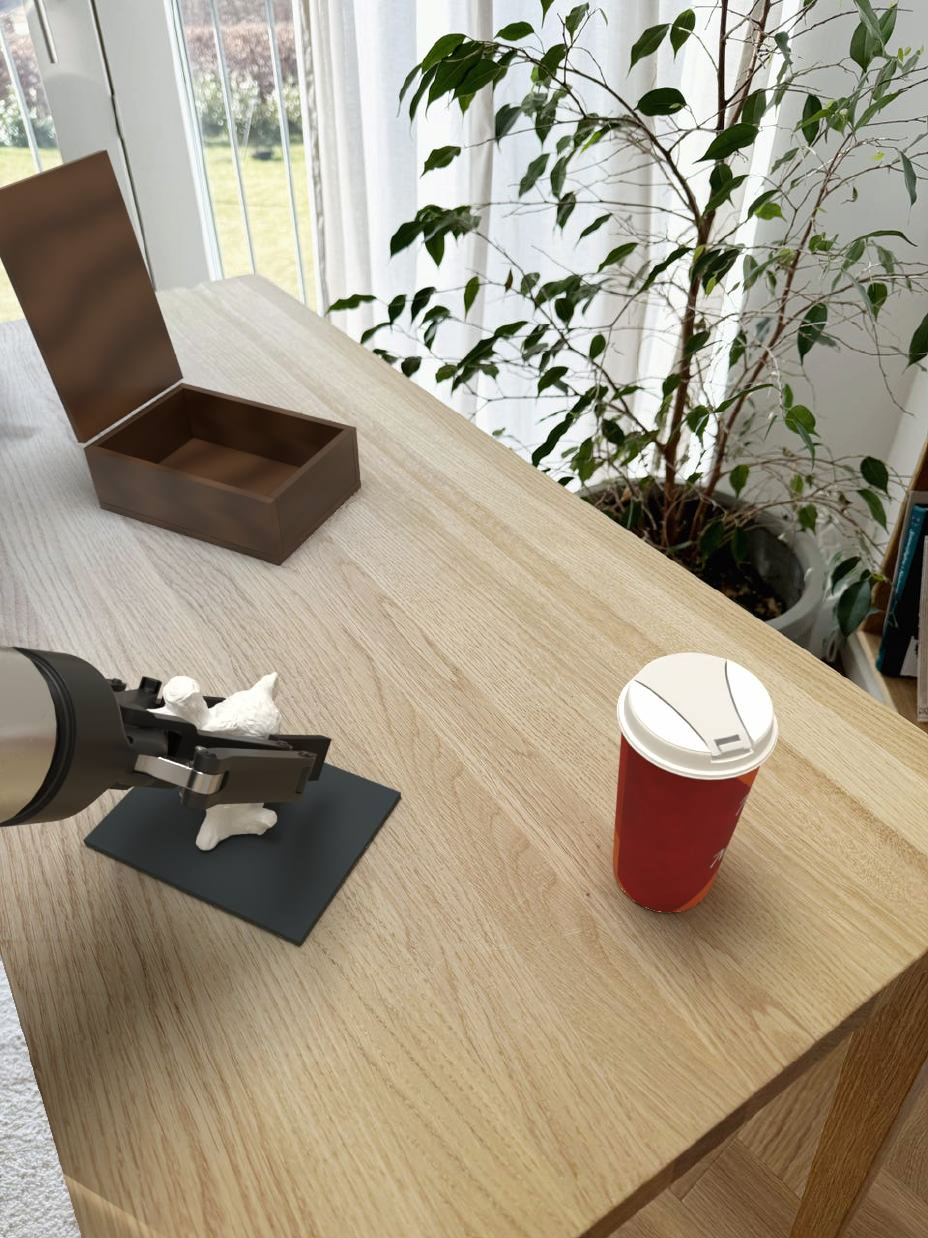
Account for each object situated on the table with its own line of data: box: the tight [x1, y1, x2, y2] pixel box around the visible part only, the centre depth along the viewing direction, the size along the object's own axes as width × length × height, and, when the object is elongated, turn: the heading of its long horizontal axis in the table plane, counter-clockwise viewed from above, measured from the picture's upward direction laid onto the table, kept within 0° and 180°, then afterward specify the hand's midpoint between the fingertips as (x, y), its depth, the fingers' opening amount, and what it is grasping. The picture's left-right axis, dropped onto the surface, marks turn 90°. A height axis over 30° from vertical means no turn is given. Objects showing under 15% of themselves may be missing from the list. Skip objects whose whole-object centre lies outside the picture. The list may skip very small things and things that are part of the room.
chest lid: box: [0, 149, 184, 444], centre depth 83 cm, size 20×14×1 cm
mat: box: [82, 761, 402, 946], centre depth 62 cm, size 16×12×1 cm
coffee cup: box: [612, 651, 779, 913], centre depth 54 cm, size 8×8×15 cm
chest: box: [82, 382, 362, 566], centre depth 88 cm, size 20×14×6 cm
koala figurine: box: [146, 671, 283, 850], centre depth 58 cm, size 8×7×12 cm
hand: (269, 738), depth 62 cm, fingers closed on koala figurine, 7 cm apart
